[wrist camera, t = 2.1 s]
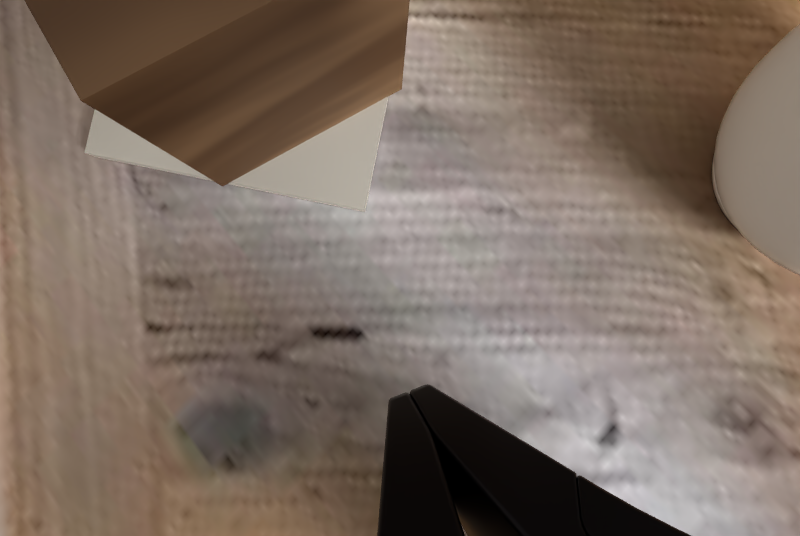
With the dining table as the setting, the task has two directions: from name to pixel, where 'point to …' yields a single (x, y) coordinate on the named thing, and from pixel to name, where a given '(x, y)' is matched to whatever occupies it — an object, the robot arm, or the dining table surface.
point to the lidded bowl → (764, 155)
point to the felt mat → (286, 174)
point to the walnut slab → (227, 70)
